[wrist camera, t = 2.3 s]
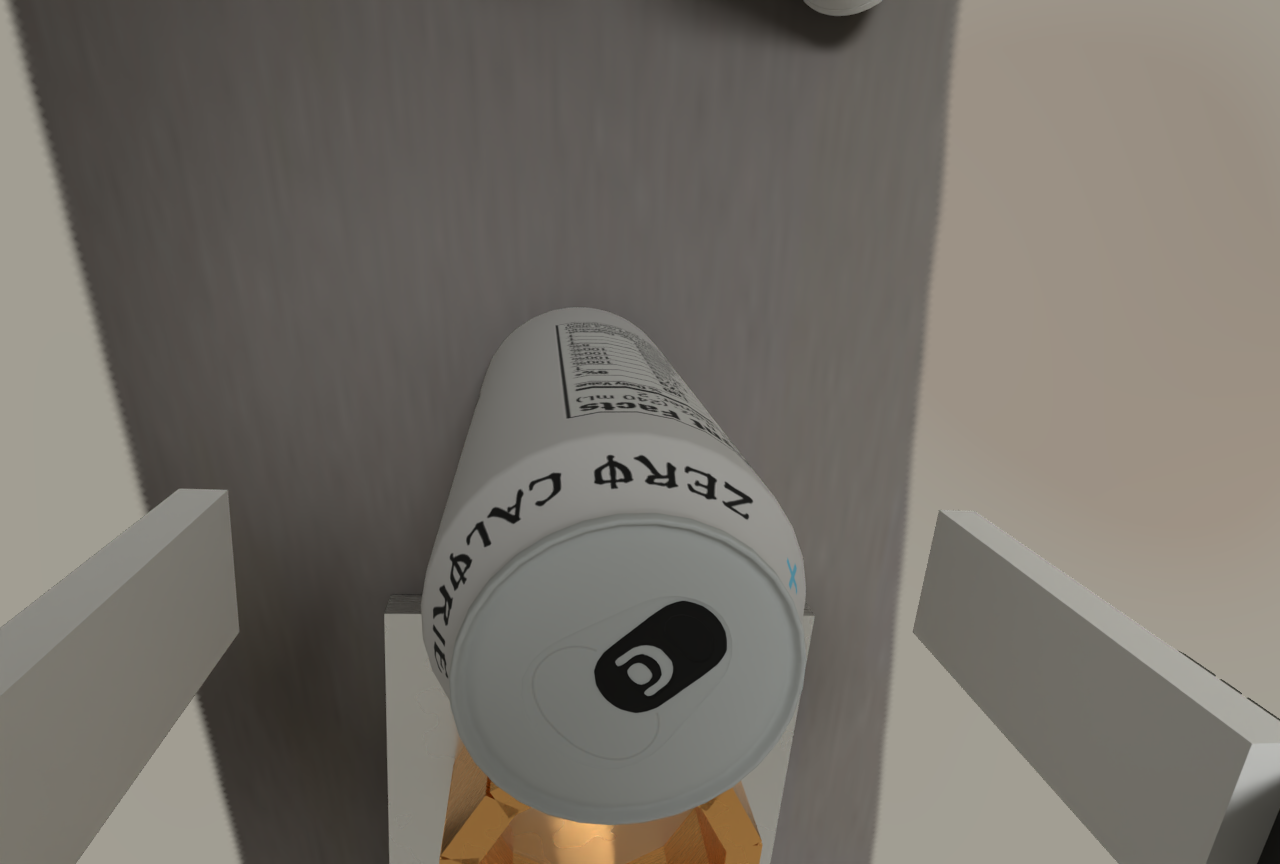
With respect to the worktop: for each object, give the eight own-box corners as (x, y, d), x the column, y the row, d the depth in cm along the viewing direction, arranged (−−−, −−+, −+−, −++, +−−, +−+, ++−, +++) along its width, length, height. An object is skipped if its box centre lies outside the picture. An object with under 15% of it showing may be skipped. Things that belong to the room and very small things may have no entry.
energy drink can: (444, 381, 23) (295, 673, 9) (592, 263, 23) (681, 373, 8) (564, 513, 25) (596, 922, 11) (702, 406, 25) (925, 692, 10)
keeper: (391, 595, 25) (355, 691, 20) (803, 598, 27) (860, 686, 22) (396, 919, 30) (368, 1063, 25) (750, 899, 32) (789, 1027, 27)
